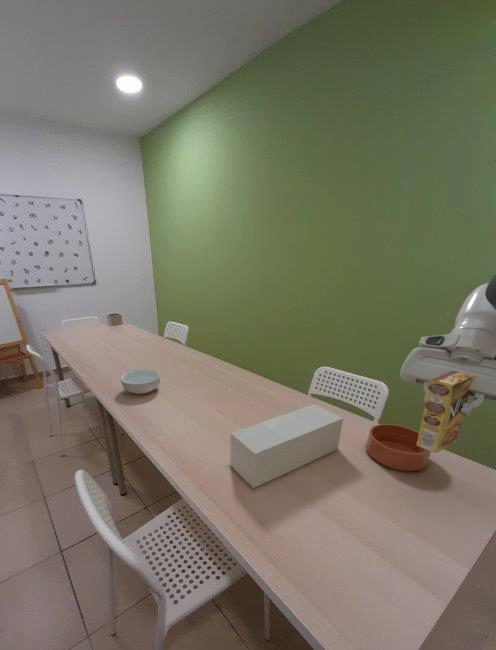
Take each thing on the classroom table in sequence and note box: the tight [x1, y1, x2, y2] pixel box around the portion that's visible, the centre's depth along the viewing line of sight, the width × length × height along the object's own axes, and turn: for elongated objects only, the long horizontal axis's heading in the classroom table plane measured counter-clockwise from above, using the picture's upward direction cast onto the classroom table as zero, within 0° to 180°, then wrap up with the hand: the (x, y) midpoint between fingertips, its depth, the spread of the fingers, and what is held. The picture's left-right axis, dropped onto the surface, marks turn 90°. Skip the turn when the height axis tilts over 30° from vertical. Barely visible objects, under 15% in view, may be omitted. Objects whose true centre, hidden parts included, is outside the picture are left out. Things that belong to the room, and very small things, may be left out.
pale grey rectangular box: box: [229, 403, 344, 489], centre depth 86 cm, size 32×11×11 cm, turn 120°
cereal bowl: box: [120, 368, 161, 395], centre depth 133 cm, size 17×17×7 cm
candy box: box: [416, 371, 475, 454], centre depth 62 cm, size 9×4×15 cm, turn 120°
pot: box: [365, 423, 432, 472], centre depth 86 cm, size 15×15×6 cm
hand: (444, 408), depth 61 cm, fingers closed on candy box, 5 cm apart
